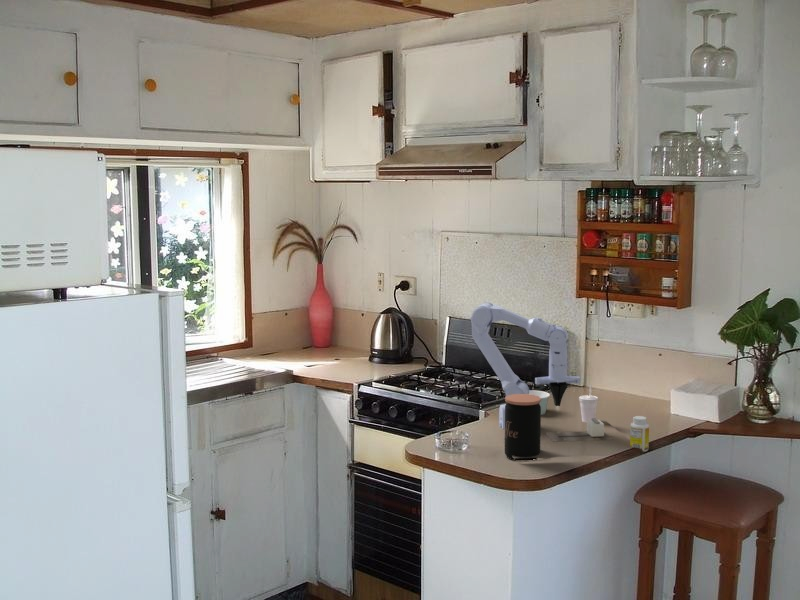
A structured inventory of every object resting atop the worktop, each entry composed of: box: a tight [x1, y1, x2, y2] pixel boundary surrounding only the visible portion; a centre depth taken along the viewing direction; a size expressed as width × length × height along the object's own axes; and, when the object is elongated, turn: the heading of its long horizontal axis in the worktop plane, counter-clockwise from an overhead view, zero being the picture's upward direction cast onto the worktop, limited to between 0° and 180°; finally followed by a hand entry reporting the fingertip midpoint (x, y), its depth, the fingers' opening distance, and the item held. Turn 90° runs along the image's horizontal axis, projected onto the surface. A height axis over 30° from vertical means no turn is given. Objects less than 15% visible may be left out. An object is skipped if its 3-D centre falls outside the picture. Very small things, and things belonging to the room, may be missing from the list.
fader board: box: [545, 430, 613, 443], centre depth 291 cm, size 19×10×2 cm, turn 96°
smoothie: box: [578, 384, 599, 424], centre depth 308 cm, size 6×6×14 cm
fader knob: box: [586, 417, 605, 437], centre depth 291 cm, size 4×5×5 cm
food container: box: [529, 389, 551, 416], centre depth 327 cm, size 12×12×6 cm
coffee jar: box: [504, 394, 542, 461], centre depth 274 cm, size 11×11×18 cm
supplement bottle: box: [629, 415, 650, 453], centre depth 280 cm, size 6×6×10 cm
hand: (557, 405), depth 298 cm, fingers closed
